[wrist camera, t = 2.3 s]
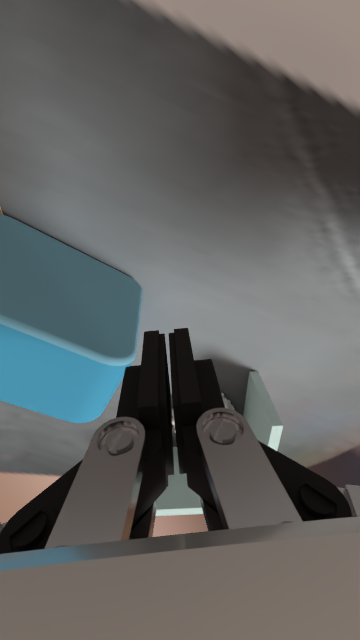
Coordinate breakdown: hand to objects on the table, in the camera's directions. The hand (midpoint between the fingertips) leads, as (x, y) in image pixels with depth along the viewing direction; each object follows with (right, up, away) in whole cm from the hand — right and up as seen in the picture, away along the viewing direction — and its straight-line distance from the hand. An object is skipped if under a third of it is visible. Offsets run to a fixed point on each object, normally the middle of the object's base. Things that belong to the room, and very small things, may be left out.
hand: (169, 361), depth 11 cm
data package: (-9, +6, +12) cm, 16 cm away
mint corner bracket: (+2, -9, +21) cm, 22 cm away
